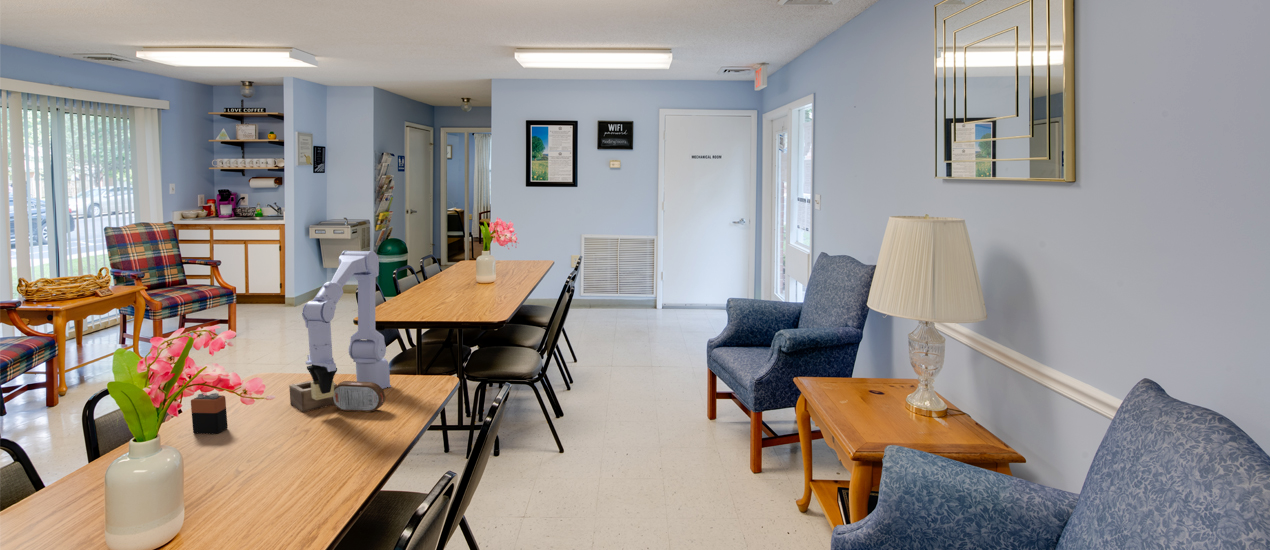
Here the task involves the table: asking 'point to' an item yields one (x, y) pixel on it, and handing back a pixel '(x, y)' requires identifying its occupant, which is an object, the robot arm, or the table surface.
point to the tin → (358, 396)
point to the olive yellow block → (317, 392)
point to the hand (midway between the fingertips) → (323, 391)
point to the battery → (209, 413)
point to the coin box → (306, 397)
